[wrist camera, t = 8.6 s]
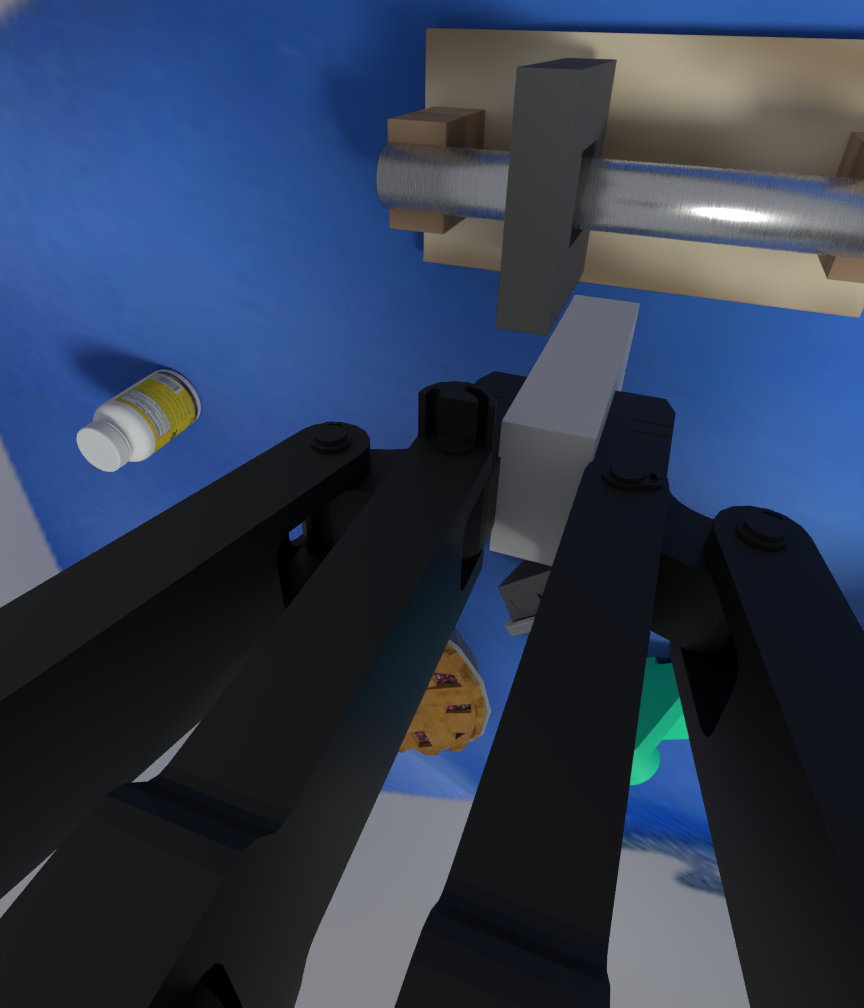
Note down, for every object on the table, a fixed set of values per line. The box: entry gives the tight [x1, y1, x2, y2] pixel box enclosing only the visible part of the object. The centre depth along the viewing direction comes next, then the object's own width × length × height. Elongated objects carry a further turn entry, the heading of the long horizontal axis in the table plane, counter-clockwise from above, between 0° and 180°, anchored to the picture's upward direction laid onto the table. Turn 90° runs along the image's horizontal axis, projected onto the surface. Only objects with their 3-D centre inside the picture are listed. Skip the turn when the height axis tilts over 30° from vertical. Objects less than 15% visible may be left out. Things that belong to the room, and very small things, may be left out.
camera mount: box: [630, 657, 689, 785], centre depth 54 cm, size 12×8×10 cm, turn 121°
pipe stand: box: [388, 28, 864, 318], centre depth 32 cm, size 12×25×8 cm, turn 89°
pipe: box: [377, 142, 864, 260], centre depth 29 cm, size 3×24×3 cm, turn 89°
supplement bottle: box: [77, 369, 201, 472], centre depth 54 cm, size 5×5×10 cm
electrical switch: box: [498, 559, 552, 637], centre depth 48 cm, size 9×5×9 cm, turn 128°
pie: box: [398, 629, 491, 755], centre depth 67 cm, size 22×22×5 cm
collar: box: [496, 58, 617, 336], centre depth 30 cm, size 10×2×10 cm, turn 179°
